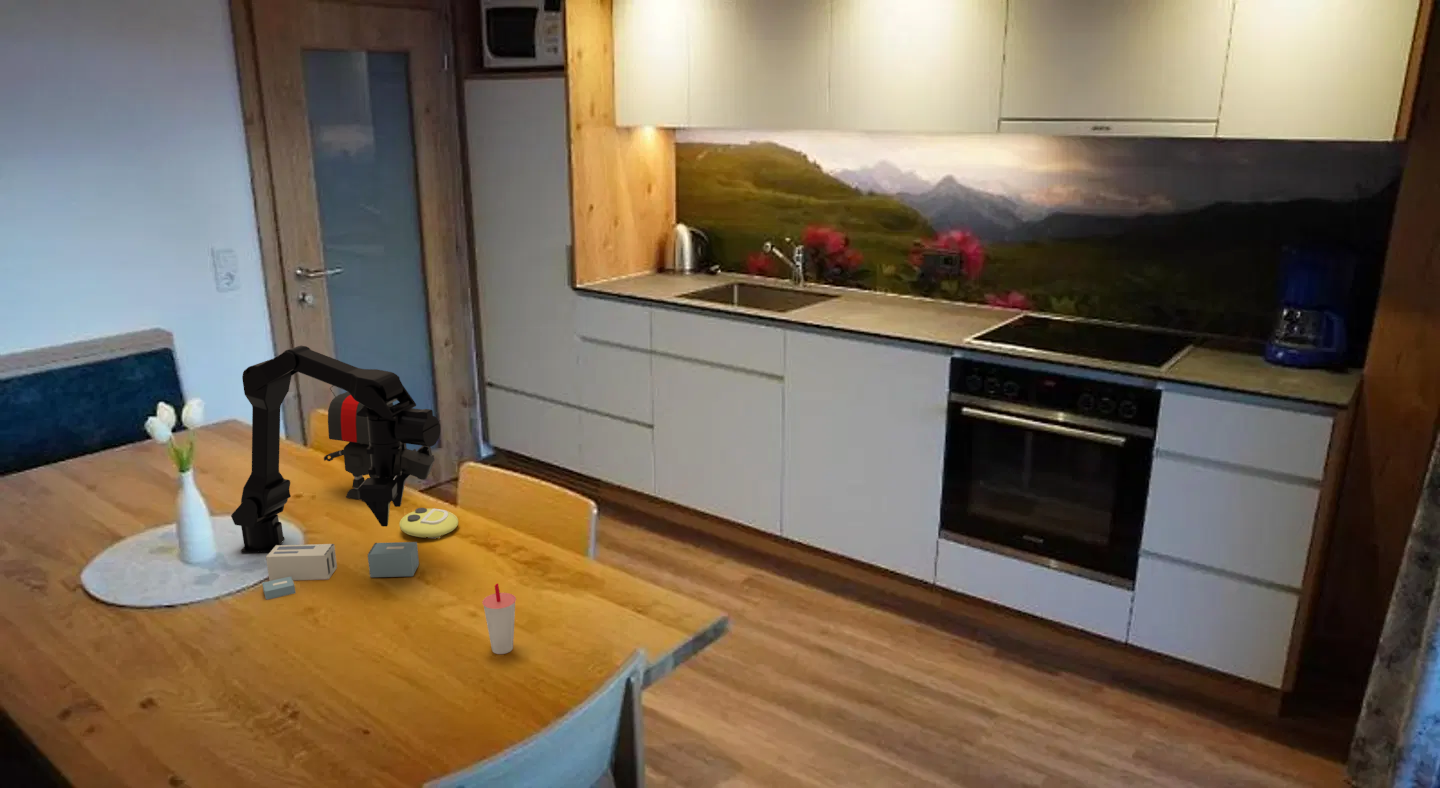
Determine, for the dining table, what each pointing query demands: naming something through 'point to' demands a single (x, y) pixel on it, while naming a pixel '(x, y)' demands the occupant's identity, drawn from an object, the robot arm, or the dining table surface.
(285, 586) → the torn stub
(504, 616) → the cup
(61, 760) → the dining table surface
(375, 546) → the stub
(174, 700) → the dining table surface
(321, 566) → the block
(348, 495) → the toy robot
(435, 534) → the emoji
